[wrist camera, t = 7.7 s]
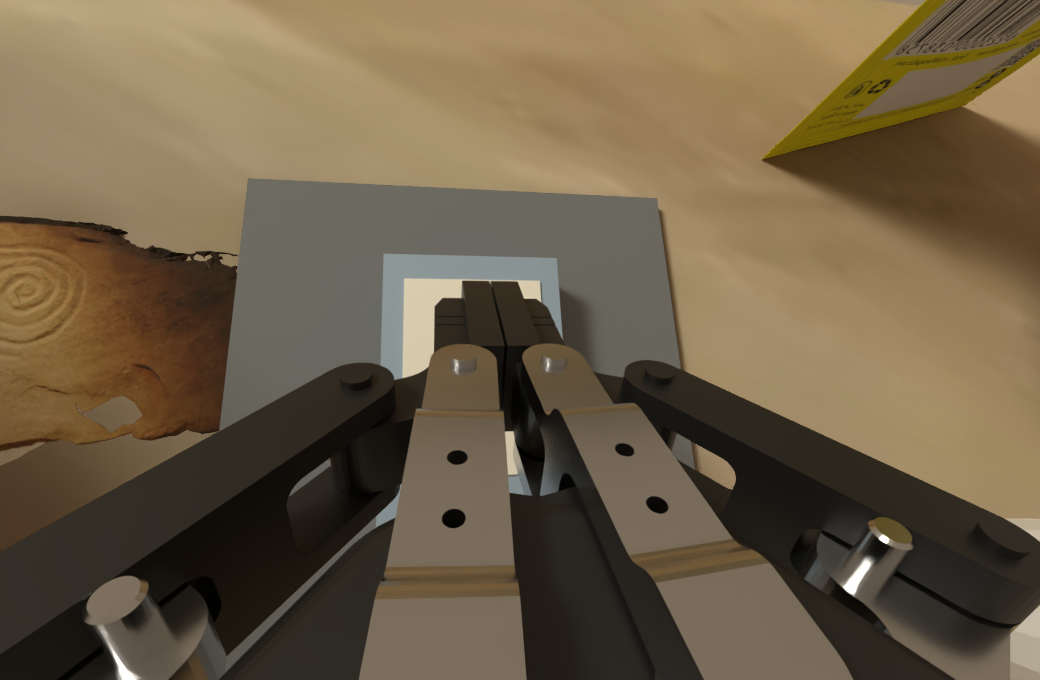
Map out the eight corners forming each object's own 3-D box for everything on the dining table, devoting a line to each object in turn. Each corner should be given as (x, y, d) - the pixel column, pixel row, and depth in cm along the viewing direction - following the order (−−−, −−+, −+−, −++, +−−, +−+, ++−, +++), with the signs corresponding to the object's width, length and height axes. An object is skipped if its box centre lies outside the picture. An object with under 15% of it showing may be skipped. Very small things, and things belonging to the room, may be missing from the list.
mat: (182, 824, 14) (172, 838, 14) (253, 186, 20) (248, 178, 20) (724, 737, 17) (734, 746, 17) (651, 205, 23) (656, 198, 23)
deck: (375, 532, 15) (383, 252, 17) (383, 524, 17) (389, 277, 19) (576, 518, 16) (557, 256, 18) (560, 512, 18) (544, 279, 21)
